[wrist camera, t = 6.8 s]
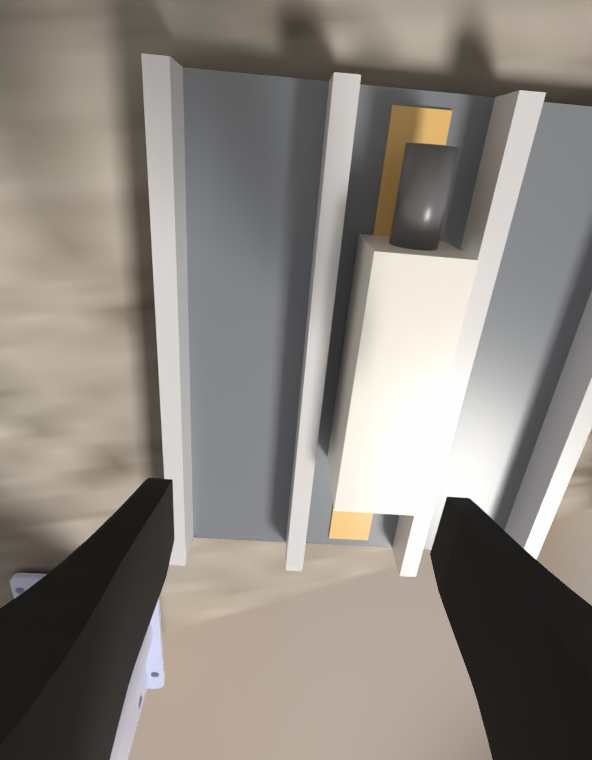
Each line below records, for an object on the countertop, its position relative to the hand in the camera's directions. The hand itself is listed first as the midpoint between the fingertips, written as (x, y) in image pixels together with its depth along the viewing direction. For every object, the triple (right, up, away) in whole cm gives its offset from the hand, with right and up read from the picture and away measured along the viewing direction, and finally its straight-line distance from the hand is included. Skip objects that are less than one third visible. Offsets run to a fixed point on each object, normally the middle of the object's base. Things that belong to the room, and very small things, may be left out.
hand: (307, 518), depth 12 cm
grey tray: (+3, +5, +8) cm, 10 cm away
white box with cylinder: (+3, +6, +6) cm, 9 cm away
